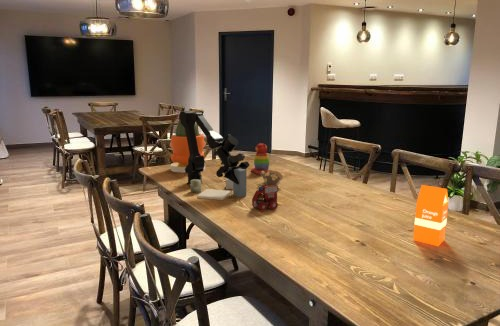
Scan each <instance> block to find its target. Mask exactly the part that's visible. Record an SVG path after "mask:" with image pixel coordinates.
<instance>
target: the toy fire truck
mask: <svg viewBox="0 0 500 326" xmlns="http://www.w3.org/2000/svg"><path fill="white" fill-rule="evenodd" d="M257 189H258V190H256V191H255V192H254V194H253V195H252V198H251V206H252V208H255V209H256V208H258V210H260V212H264V211H266V210H267V209H268V208H269V209H270V210H276V209H277V208H278V206H279V204H278V191H279V185H271V186H267V185H266V186H262V185H261V186H258V188H257Z"/></svg>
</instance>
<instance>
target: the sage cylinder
mask: <svg viewBox="0 0 500 326" xmlns="http://www.w3.org/2000/svg"><path fill="white" fill-rule="evenodd" d="M201 185H202V182H201V180H199V179H193V180H191V184H190V193H191V194H201V193H202V192H201V191H202V189H201V188H202V187H201Z"/></svg>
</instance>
